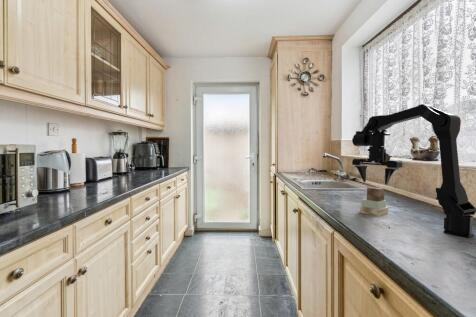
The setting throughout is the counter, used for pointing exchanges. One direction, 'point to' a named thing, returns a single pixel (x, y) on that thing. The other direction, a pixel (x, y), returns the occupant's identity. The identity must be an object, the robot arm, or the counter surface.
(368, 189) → the walnut cube
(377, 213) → the beech slab
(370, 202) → the sage slab
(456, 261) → the counter surface
